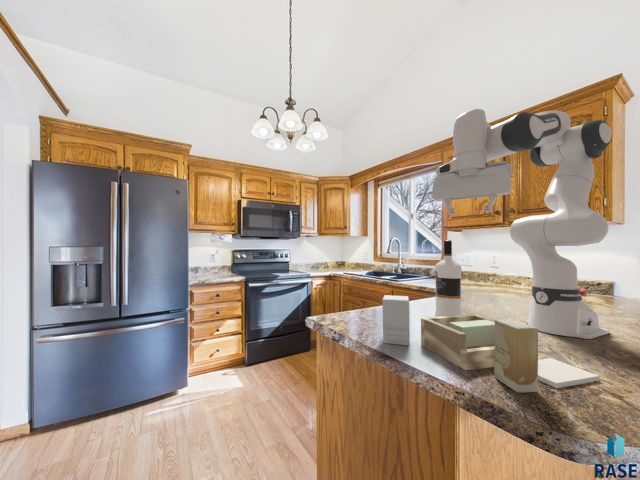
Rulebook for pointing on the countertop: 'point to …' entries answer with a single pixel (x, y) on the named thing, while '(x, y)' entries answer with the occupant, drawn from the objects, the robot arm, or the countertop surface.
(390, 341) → the supplement box
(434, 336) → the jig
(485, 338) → the block
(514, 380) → the skincare box
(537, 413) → the countertop surface
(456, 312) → the vodka
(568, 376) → the mat
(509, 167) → the robot arm
